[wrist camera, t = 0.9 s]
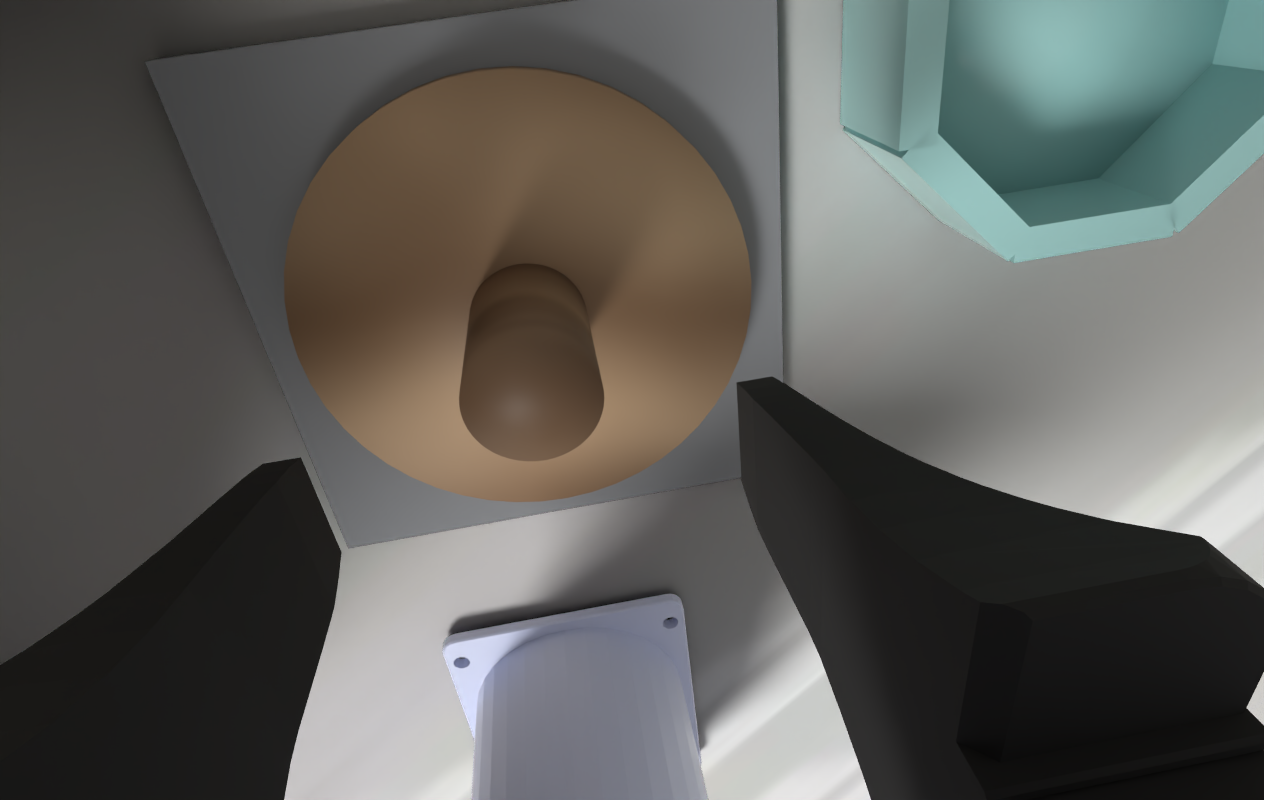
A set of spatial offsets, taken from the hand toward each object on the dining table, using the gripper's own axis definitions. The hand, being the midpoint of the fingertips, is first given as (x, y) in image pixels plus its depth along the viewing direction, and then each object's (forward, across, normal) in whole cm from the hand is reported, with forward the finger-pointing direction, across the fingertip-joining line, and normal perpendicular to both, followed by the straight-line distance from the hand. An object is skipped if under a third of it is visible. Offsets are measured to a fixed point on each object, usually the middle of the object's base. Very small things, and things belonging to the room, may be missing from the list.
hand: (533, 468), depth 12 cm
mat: (+8, 0, 0) cm, 8 cm away
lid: (+7, 0, 0) cm, 7 cm away
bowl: (+8, -13, -5) cm, 16 cm away
